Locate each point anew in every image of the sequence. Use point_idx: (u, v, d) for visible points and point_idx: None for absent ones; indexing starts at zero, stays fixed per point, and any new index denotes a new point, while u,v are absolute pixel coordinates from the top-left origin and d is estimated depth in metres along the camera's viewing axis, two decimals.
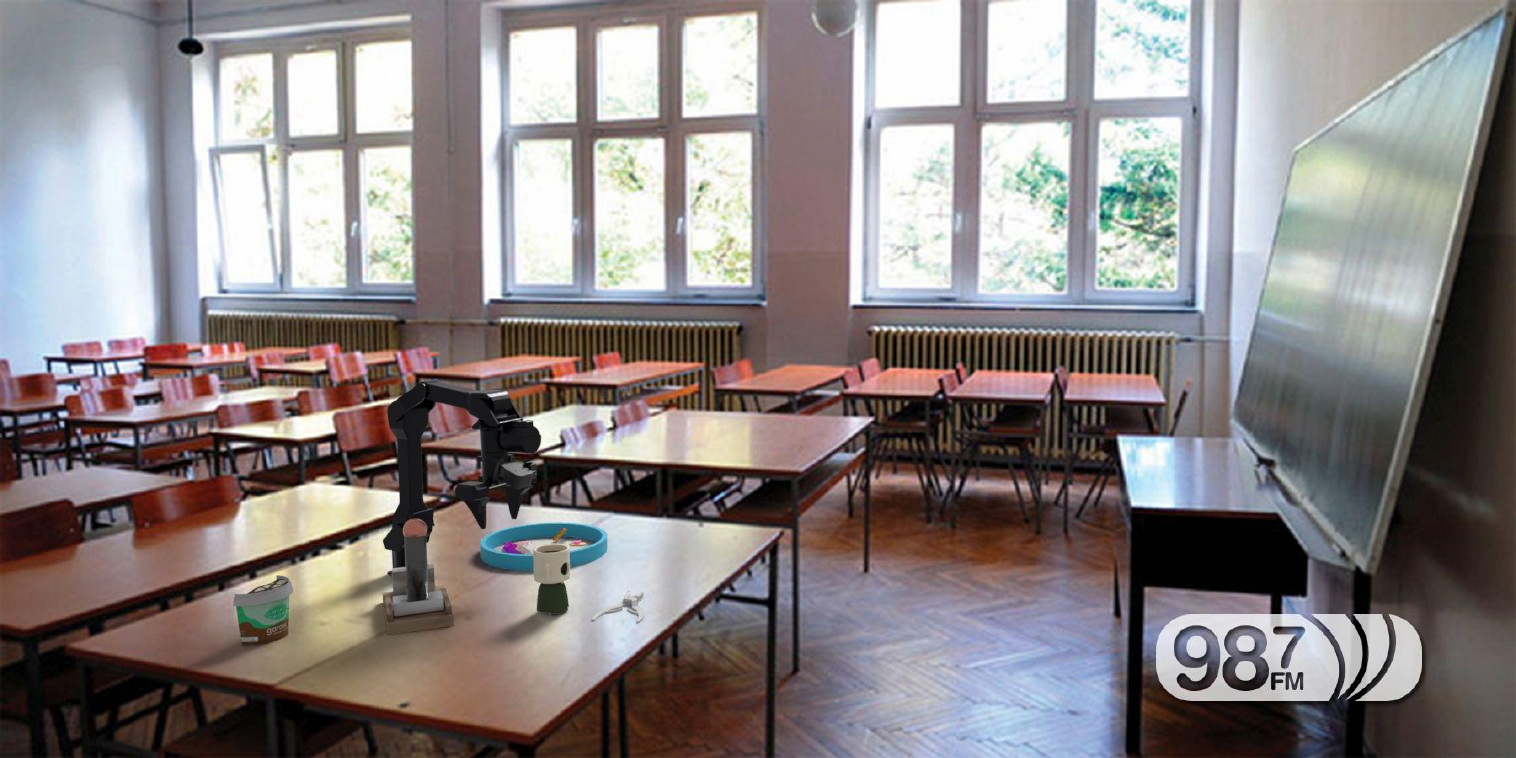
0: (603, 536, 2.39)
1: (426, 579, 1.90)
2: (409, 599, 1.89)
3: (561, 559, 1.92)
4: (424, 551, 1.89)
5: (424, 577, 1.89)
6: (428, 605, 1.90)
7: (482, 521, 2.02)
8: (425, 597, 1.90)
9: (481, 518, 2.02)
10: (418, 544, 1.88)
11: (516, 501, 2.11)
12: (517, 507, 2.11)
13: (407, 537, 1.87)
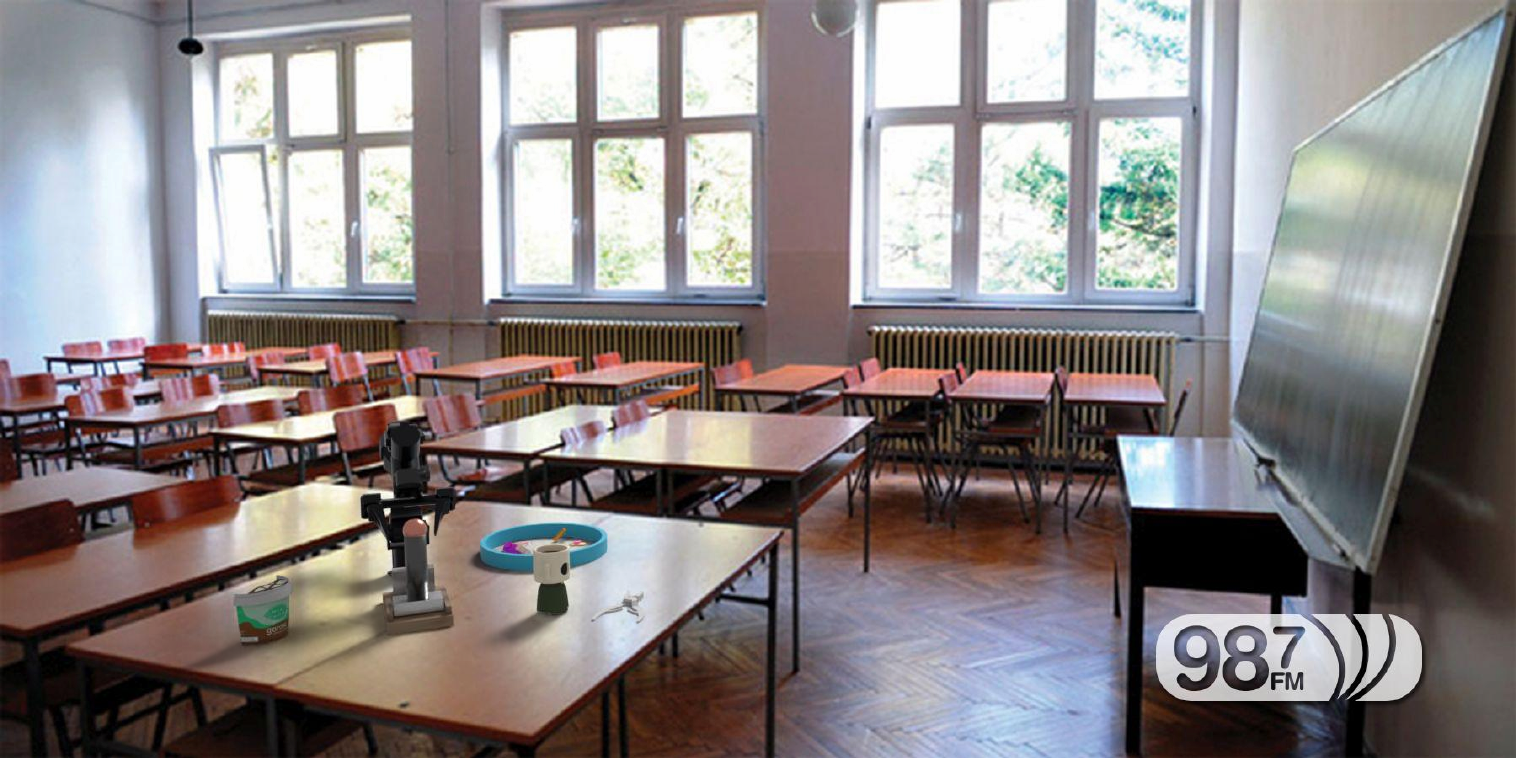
0: (603, 536, 2.39)
1: (426, 579, 1.90)
2: (409, 599, 1.89)
3: (561, 559, 1.92)
4: (424, 551, 1.89)
5: (424, 577, 1.89)
6: (428, 605, 1.90)
7: (383, 531, 2.00)
8: (425, 597, 1.90)
9: (382, 528, 2.00)
10: (418, 544, 1.88)
11: None
12: (435, 521, 2.04)
13: (407, 537, 1.87)
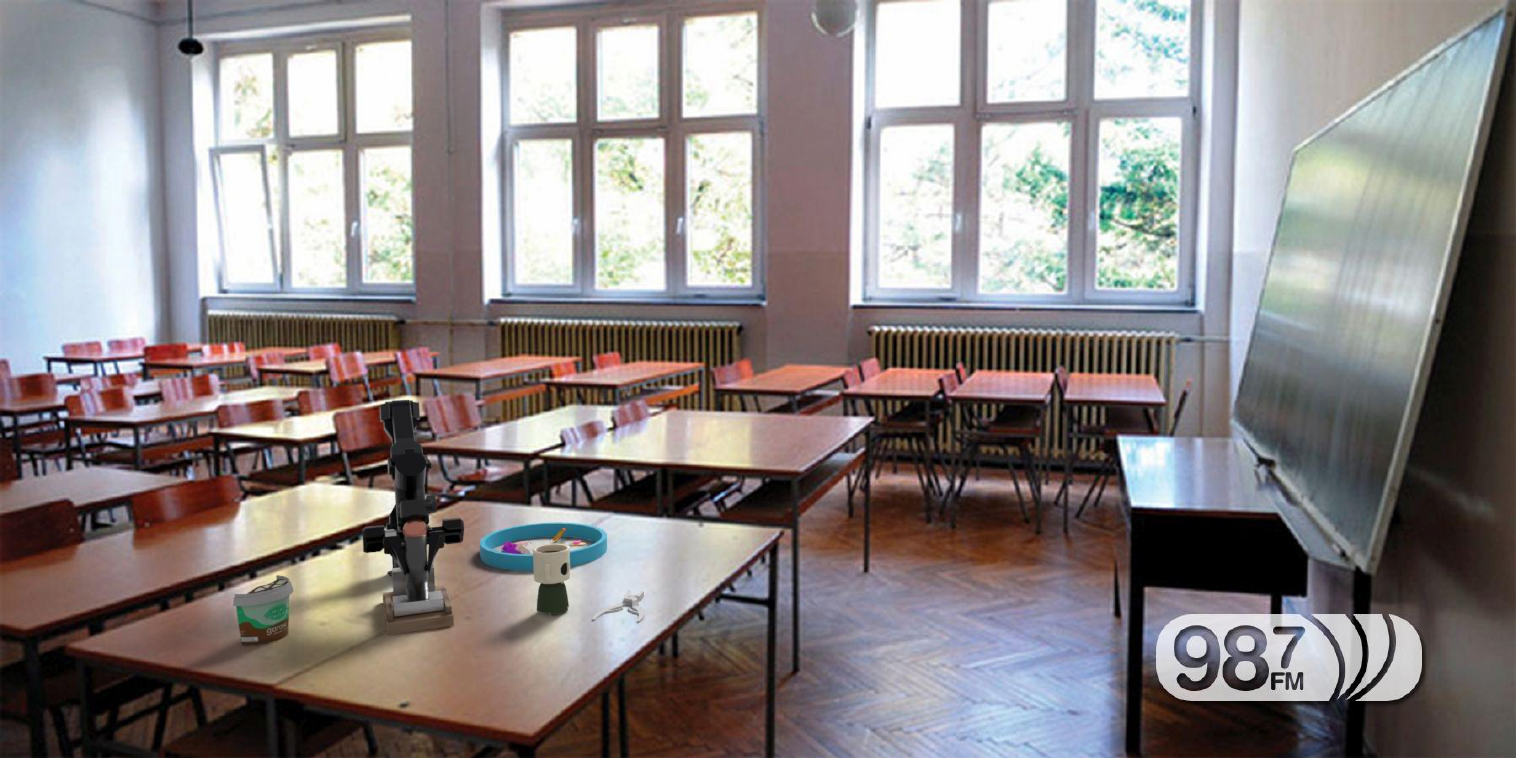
0: (603, 536, 2.39)
1: (426, 579, 1.90)
2: (409, 599, 1.89)
3: (561, 559, 1.92)
4: (424, 551, 1.89)
5: (424, 577, 1.89)
6: (428, 605, 1.90)
7: (400, 565, 1.88)
8: (425, 597, 1.90)
9: (399, 562, 1.89)
10: (418, 544, 1.88)
11: (428, 551, 1.91)
12: (429, 557, 1.90)
13: (407, 537, 1.87)
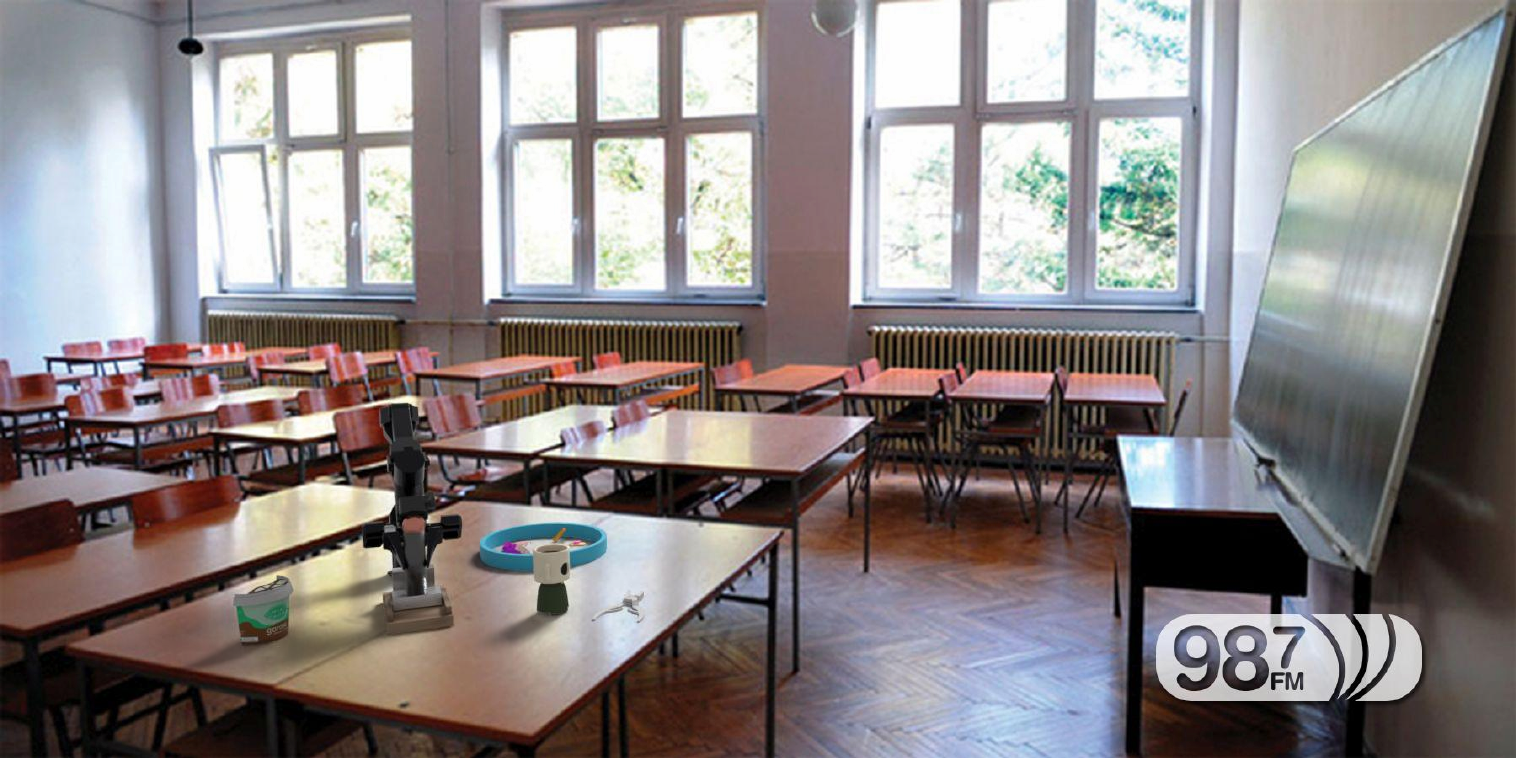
0: (602, 536, 2.39)
1: (425, 574, 1.93)
2: (408, 594, 1.92)
3: (561, 559, 1.92)
4: (422, 546, 1.92)
5: (423, 572, 1.92)
6: (426, 600, 1.93)
7: (399, 560, 1.91)
8: (424, 592, 1.93)
9: (398, 557, 1.92)
10: (417, 540, 1.91)
11: None
12: (427, 552, 1.94)
13: (406, 533, 1.91)
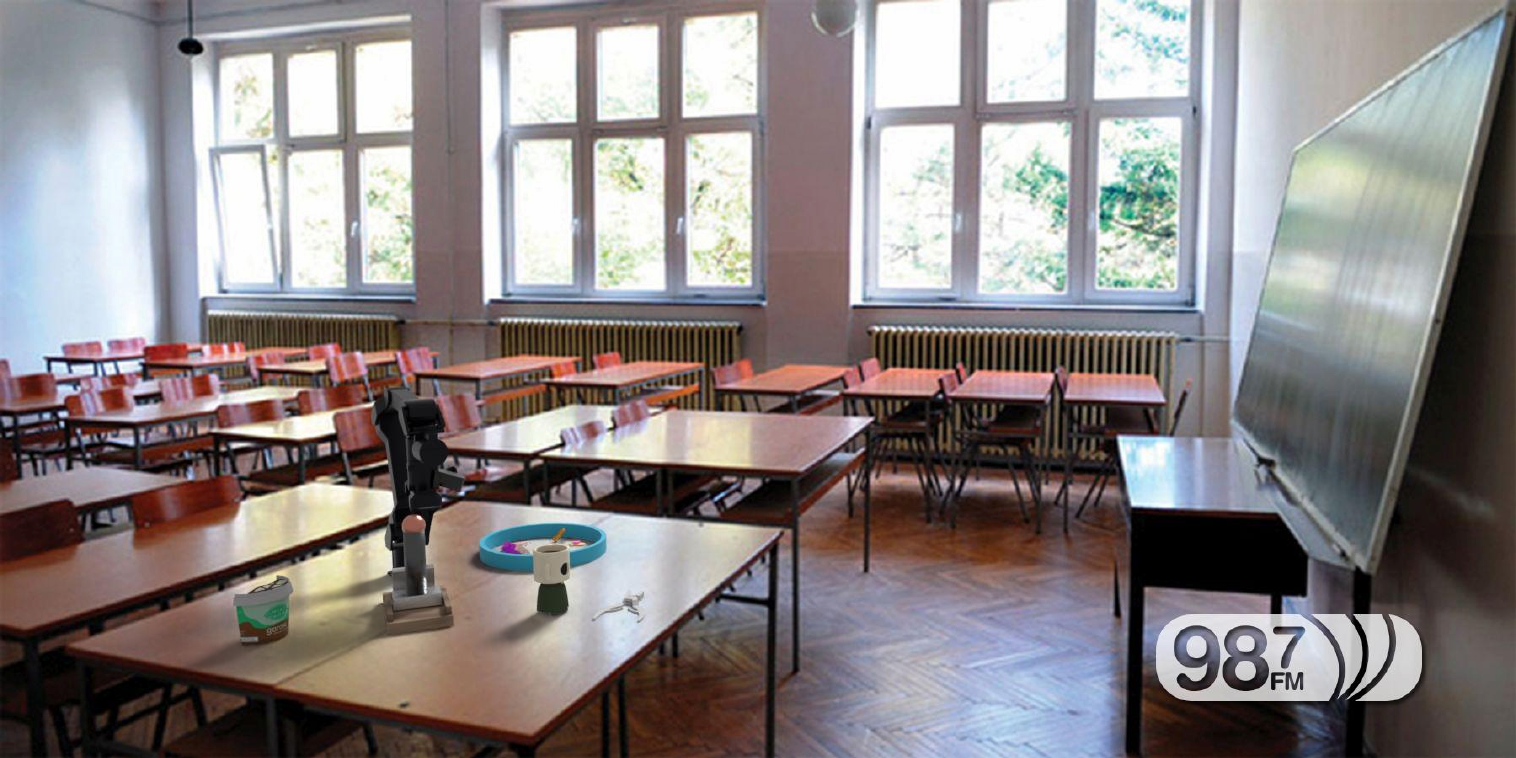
0: (602, 536, 2.39)
1: (425, 574, 1.93)
2: (408, 594, 1.92)
3: (561, 559, 1.92)
4: (422, 546, 1.92)
5: (422, 572, 1.92)
6: (426, 600, 1.93)
7: (429, 529, 2.03)
8: (424, 592, 1.93)
9: (428, 526, 2.02)
10: (417, 540, 1.91)
11: None
12: None
13: (406, 533, 1.91)
